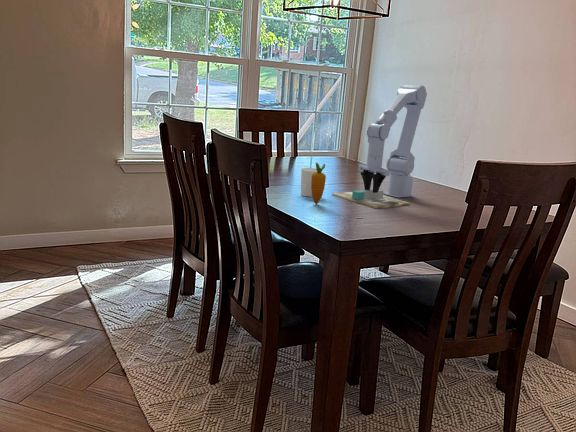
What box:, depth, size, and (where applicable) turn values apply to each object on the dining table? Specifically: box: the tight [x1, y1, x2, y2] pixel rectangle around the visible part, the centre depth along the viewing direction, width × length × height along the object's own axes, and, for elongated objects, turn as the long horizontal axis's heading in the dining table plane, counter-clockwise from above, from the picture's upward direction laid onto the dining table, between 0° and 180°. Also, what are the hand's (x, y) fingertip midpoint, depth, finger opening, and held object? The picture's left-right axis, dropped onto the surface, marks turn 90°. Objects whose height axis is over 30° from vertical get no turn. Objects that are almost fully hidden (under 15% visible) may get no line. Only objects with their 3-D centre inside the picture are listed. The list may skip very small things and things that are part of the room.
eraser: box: [352, 188, 385, 200], centre depth 202 cm, size 14×3×3 cm, turn 126°
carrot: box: [311, 162, 327, 205], centre depth 187 cm, size 5×5×15 cm
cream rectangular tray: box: [331, 191, 411, 209], centre depth 203 cm, size 18×24×2 cm
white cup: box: [300, 167, 323, 198], centre depth 203 cm, size 8×8×10 cm
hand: (371, 191), depth 203 cm, fingers open, 4 cm apart
